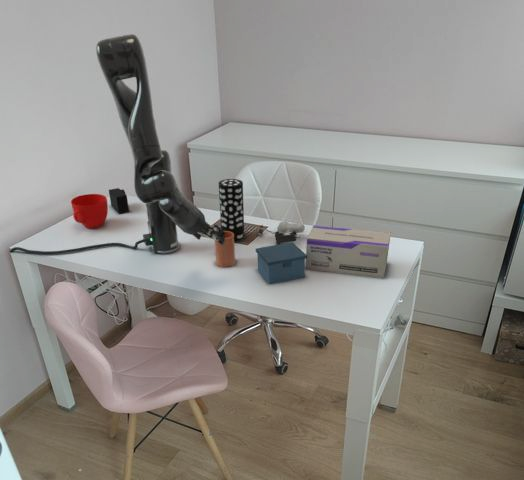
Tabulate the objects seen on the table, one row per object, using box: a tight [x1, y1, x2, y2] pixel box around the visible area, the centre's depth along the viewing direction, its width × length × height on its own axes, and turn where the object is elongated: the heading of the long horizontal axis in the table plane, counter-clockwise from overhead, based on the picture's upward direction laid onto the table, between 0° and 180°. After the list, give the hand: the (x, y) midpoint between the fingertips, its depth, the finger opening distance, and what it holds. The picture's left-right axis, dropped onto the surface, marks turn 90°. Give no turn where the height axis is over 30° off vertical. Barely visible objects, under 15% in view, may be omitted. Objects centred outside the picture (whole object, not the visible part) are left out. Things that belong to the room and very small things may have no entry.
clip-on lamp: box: [255, 220, 306, 245], centre depth 194 cm, size 12×6×18 cm
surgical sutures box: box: [305, 225, 391, 279], centre depth 173 cm, size 25×11×11 cm, turn 74°
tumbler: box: [213, 231, 236, 268], centre depth 176 cm, size 6×6×10 cm
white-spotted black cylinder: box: [218, 178, 245, 243], centre depth 191 cm, size 8×8×20 cm
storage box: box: [254, 242, 307, 284], centre depth 171 cm, size 13×11×8 cm
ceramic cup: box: [70, 193, 109, 229], centre depth 203 cm, size 13×17×10 cm
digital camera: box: [108, 187, 130, 215], centre depth 219 cm, size 10×5×7 cm, turn 30°
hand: (211, 239), depth 168 cm, fingers open, 8 cm apart
